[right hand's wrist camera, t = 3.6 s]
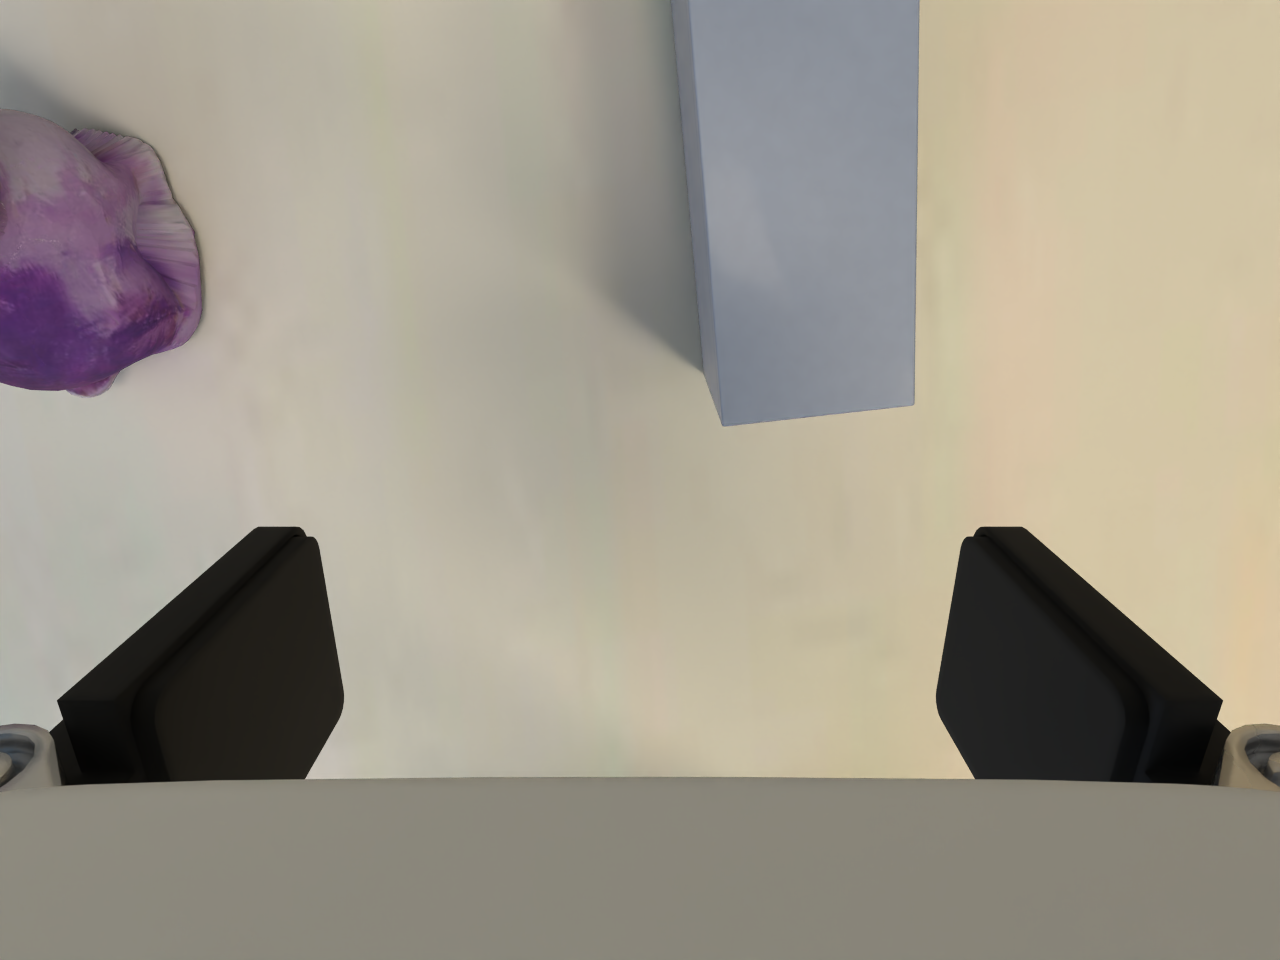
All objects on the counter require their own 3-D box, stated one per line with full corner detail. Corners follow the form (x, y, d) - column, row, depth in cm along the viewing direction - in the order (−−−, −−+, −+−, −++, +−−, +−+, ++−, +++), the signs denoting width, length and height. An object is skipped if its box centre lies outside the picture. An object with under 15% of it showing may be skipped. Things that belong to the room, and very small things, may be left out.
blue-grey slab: (666, -44, 28) (676, -137, 20) (843, -68, 28) (922, -172, 20) (703, 374, 34) (722, 427, 26) (851, 358, 33) (915, 405, 26)
